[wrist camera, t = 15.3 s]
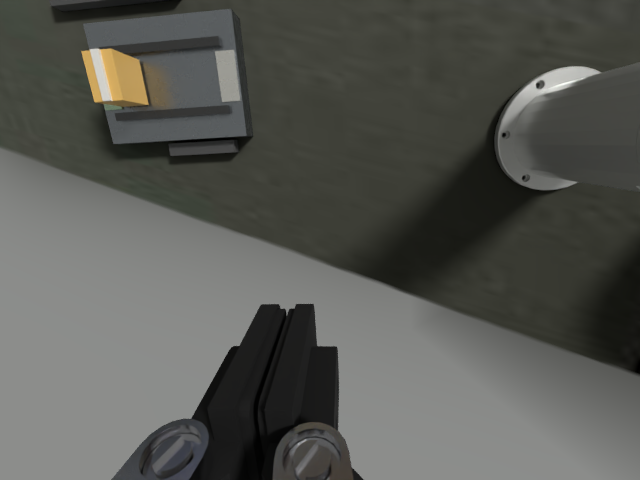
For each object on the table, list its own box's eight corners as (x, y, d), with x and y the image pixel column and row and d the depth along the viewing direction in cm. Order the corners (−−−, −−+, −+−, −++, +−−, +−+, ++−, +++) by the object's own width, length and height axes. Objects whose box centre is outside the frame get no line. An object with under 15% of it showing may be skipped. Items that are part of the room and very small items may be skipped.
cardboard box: (139, 59, 32) (108, 47, 27) (148, 105, 33) (120, 99, 29) (112, 62, 32) (78, 50, 28) (123, 107, 33) (92, 101, 29)
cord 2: (237, 140, 36) (233, 139, 35) (238, 152, 36) (234, 152, 35) (174, 143, 37) (168, 143, 35) (176, 155, 37) (170, 156, 36)
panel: (239, 18, 32) (228, 6, 29) (253, 136, 36) (244, 135, 33) (101, 32, 34) (78, 21, 31) (128, 144, 37) (109, 144, 34)
